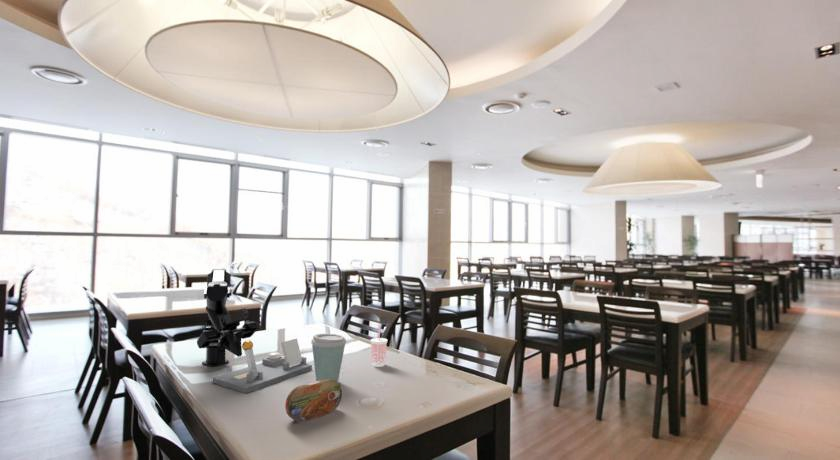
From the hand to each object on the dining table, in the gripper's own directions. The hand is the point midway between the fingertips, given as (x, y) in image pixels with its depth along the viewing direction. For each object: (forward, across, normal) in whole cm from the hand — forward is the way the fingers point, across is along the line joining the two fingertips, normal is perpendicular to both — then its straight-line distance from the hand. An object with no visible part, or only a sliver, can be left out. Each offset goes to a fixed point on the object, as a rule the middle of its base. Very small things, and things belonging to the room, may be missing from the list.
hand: (240, 355), depth 128 cm
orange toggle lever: (+9, 0, -1) cm, 9 cm away
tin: (+33, -6, -21) cm, 39 cm away
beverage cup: (+25, +37, -14) cm, 47 cm away
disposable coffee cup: (+23, +13, -12) cm, 29 cm away
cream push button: (+3, +14, +4) cm, 15 cm away
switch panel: (+8, +7, +3) cm, 11 cm away
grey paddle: (+9, +16, -1) cm, 18 cm away
